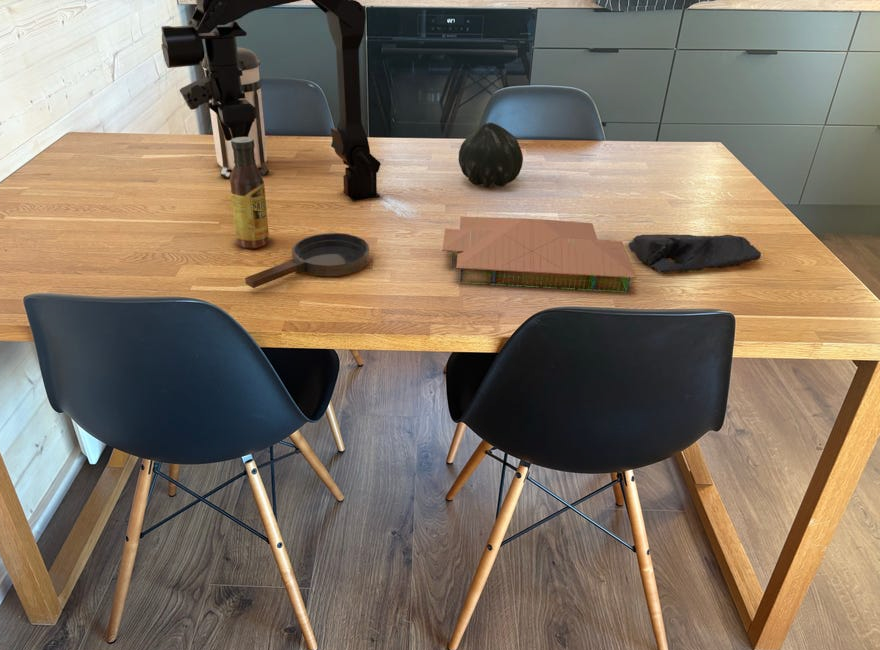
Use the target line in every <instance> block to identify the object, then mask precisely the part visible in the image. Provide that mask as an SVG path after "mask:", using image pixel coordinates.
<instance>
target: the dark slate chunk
mask: <svg viewBox="0 0 880 650" xmlns="http://www.w3.org/2000/svg"><path fill="white" fill-rule="evenodd" d="M628 248H629V249H630V251H631V252H634V253H635V255H636V257H637V259H638V260H639V261H640V262H641V263H642V264H644V265H646V266H648V267H651V269H652V270H656V271H657V272H660V273H662V274H669V273H672V272H678V273H683V272H685V273H688V272H695V271H696V272H699V271H704V270H705V269H706V270H707V269H721V268H727V267H735V266H737V267H740V266H741V265H743V264H745V263H749V262H750V263H751V262H752V261H758V260H760V259H761V258H762V253H761V251H759V250H758V248H756V247H755V246H754V245H753V244H751V242H750V241H749V240H748V239H746V237H744V236H740V235H732V234H724V235H723V234H722V235H713V236H712V235H693V234H659V233H658V234H640V235H636V236H635V237H633V239H632V241H629V242H628ZM670 260H672V261H673V262H672V261H670Z"/></svg>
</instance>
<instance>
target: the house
mask: <svg viewBox="0 0 880 650" xmlns="http://www.w3.org/2000/svg"><path fill="white" fill-rule="evenodd" d="M459 221H460V222H459V229H458V228H444V234H443V240H442V249H441V251H442V252H446V253H452V254H451V255H452V256H451V258H452V259H451V269H454V261H455V260H456V267H455V269H460V279H459V281H460V284H468V282H467V281H464V282H463V281H462V277H463V275H470V276H473V275H474V276H475V277H474V280H476V278H477V276H483V274H481V273H482V271H484V273H486V271H492V274H486V276H489V277H488V280H490V278H491V277H492V283H491V285H496V286H505V281H503V284H500V283H495V280H496V277H497V275H496V272H501V271H502V272H504V273H503V274H504V275H503V277H504V278H505V277H506V278H507V277H508V278H507V279H508V281H507V283H509V281H510V277H511V278H512V277H513V279H512V281H514V278H515V275H505V274H506V272H508V273H509V274H510V272H518V273H523V274H522V279H526V278H527V279H526V283H528V282H529V278H531V281H533V280H534V276H524V275H525V273H528V274H527V275H529V273H533V274H537V275H536V276H537V277H536V279H539V274H541V281H540V285H542V283H543V280H546V281H545V283H547V280H550V281H552V280H553V277H551V278H550V277H543V276H544V274H546V276H548V275H549V274H551V275H554V274H555V275H556V277H555V280H558V275H561V276H560V283H559V285H561V283H562V281H564V284H566V283H567V282H566V281H569V283H571V281H572V278H570V279H568V278H565V279H563V277H562V276H563V275H565V277H567V275H570V276H580V277H579V284H578V286H580V285H581V282H584V283H583V285H586V284H585V283H586V282H588V284H590V285H588V286H587V288H585V286H583V287H582V288H579V290H582V291H595V290H596V284H597V283H599V284H601V283H607V279H605V281H604V280H597V278H598V277H600V279H603V278H602V277H604V278H610V280H609V285H608V288H610V286H611V283H612V278H615V279H614V285H613V287H615V284H618V286H620V285H621V284H623V288H622V290H620V287H618V288H617V290H615V288H613V289H612V292H619V293H628V289H629V285H630V280H631V279H637V275H636V272H635V269H634V267H633V265H632V263H631V260H630V256H629V254H628V252H627V250H626V247H625V244H624V242H623V241H621V240H607V239H606V240H605V239H603V240H602V239H598V237H597V233H596V230H595V227H594V224H593V222H585V221H584V222H581V221H569V220H555V219H542V218H526V217H525V218H521V217H487V216H486V217H485V216H484V217H483V216H460V220H459ZM455 252H457V254H455ZM454 257H456V258H454ZM463 269H464V270H466V271H465V273H464V272H463ZM468 270H470V271H473V270H477V271H478V270H479V272H480V273H468ZM582 276H585V277H584V280H583V279H582ZM587 276H589V280H588V279H587V280H586V278H587ZM500 278H501V274H499V275H498V279H500ZM519 278H520V274H518V275H517V279H519ZM574 278H575V279H574V281H577V279H576V278H577V277H574ZM617 278H620V279H619V281H617ZM469 279H470V282H469V284H472V282H471V281H472V278H469ZM485 282H486V279H484V281H483V283H482V282H474V284H475V285H476V284H477V285H478V284H479V285H486V283H485ZM523 282H524V280H522V283H521V284H520V285H519V282H517V284H509V286H511V287H513V286H514V287H521V285H523ZM537 283H538V282H536V283H535V285H533V284H531V285H526V287H531V288H538V286H537V285H538V284H537ZM556 284H557V282H555V283H554V286H552V284H550V285H549V286H547V285H545V286H544V288H546V289H547V288H548V289H556ZM575 285H576V283H574V284H573V288H571V284H569V287H566V286H564V287H562V290H563V289H564V290H565V289H566V290H574V287H576V286H575ZM590 287H591V288H590ZM605 287H606V284H604V286H603V289H600V288H601V285H599V286H598V289H597V291H600V292H610V289H608V290H607V289H605Z"/></svg>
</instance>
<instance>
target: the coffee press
mask: <svg viewBox="0 0 880 650" xmlns="http://www.w3.org/2000/svg"><path fill="white" fill-rule="evenodd" d="M237 52H238V61H239V68H240V69H241V70H242V74H243V76H240V77H241V86H242V91H243V92H244V93H245V98H244V99H246V100H247V101H248V102H249V103H251V104H252V105H253V106H254V107H255V108H256V117H257V118H256V119H255V120H254V122H253V124H252V126H251V129H250V132H249V135H248V137H250V138H253V139H254V145H255V147H254V156H255V161H256V165H257V167H258V170H259V172H260V174H261V176H266V175H268V174H270V168H269V167H268V166H267V164H266V163H267V161H268V156H267V155H268V153H267V152H268V151H267V142H266V141H267V140H266V131H265V130H266V129H265V121H264V110H263V101H262V89H261V88H262V80H261V76H260V69H259V68H260V65H261V61H260V59H258V57H257V55H256V53H255V52H253V50H250V49H249V48H245V47H240V46H239V47H238V46H237ZM204 54H205V56H204V59H203V61H201V68H202V69H203V71H204V72H205V70H206V68H208V63H207V56H206V53H204ZM204 77H206V75H205V74H204ZM239 100H243V99H239ZM209 114H210V121H211V127H212V129H211V130H212V137H213V143H214V151H215V157H216V162H217V165H218V166H219V167H221V172H220V177H221V178H222V179H230V175H231V172H232V170H233V168H234V166H235V164H234V154H233V149H232V145H231V140H230V141H227V140H226V139H225V136H224V133H223V131H222V128H221V125H220V123H219V120H218V117H217V115H216V113H215V112H214V111H213V110H212V109H210V108H209Z"/></svg>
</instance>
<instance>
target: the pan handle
mask: <svg viewBox="0 0 880 650" xmlns="http://www.w3.org/2000/svg"><path fill="white" fill-rule="evenodd" d="M305 272H306V269H305V262H303V261H301V260H299V259H297V258H295V259H293V258H291V259H290V260H288V261H286V262H283V263H281V264H278V265H275V266H273V267H272V266H271V267H269V268H267V269H264V270H262V271H259V272H257V273H255V274H254V273H253V274H251V275H248V276H246V277H245V278H244V281H245V285H246V286H249V287H250V288H252V289H255V288H258V287H260V286H263V285H265V284H268V283H271V282H274V281H276V280H278V279H281V278H284V277H286V276H288V275H291V274H293V273H295V274H298V275H301V274H303V273H305Z"/></svg>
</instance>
